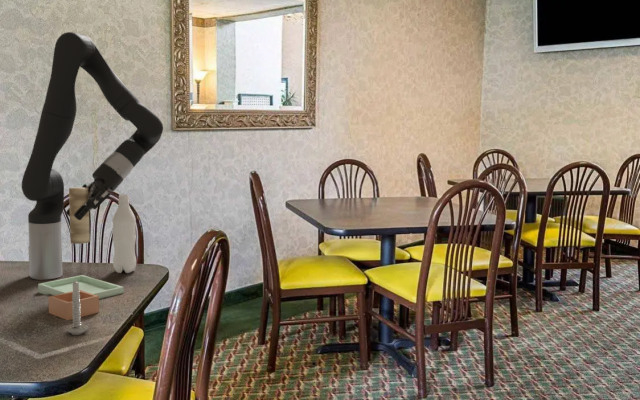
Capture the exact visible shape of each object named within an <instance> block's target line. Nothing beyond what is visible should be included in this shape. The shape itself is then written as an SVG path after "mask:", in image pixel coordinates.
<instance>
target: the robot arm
mask: <svg viewBox="0 0 640 400" xmlns="http://www.w3.org/2000/svg"><path fill="white" fill-rule="evenodd" d="M52 58H53V59H52V65H51V73H50V78H49V81H48V82H49V83H48V86H47V89H46V90H47V91H46V95H45V99H44V103H43V106H42V110H41V114H40V117H39V122H38V127H37V132H36V135H35V139H34V142H33V147H32V150H31V153H30V154H31V155H30V156H29V159H28V162H27V165H26V167H25V171H24V173H23V175H22V179H21V191H22V193H23V196H24V197H25V198H26V199H27V200H29V201H32V202H36V204H35V205H34V207H33V209H32V210H30V211H29V212H28V214H27V215H28V217H27V219H28V220H27V222H28V269H29V270H28V271H29V272H28V274H29V277H30V278H31V279H33V280H38V281H39V280H52V279H58V278H60V277H63V247H62V246H63V244H62V243H63V242H62V214H63V212H64V207H65V202H64V201H65V183H64V179H63V177H62V175H61V174H60V172H59V171H57V170H56V169H53V166H54V162H55V160H56V158H57V156H58V154H59V153H60V151H61V150H62V148H63V147H64V145H65V144H66V143H67V141H68V139H69V137H70V136H71V134H72V131H73V127H74V125H75V120H76V115H77V99H76V90H75V89H76V81H77V77H78V73H79V71H80V68H81V69H83V70H84V71H85V72H87V74H88V75H89V76H91V78H92V79H93V80H94V82H95V83H96V84H97V85H98V87H99V89H100V91H101V92H102V95H103V96H104V98H105V99H106V101H107V102H108V103H109V104H110V106H111V107H112V108H113V109H114V110H115V111H116V112H117V114H118V115H119V116H121V118H122V119H124V120H125V121H129V122H130V123H131V124H133V126H134V127H135V128H136V130H135V131H134V132H133V134H132V135H131V136H130V137H129V138H128V139H124V141H122V142H121V143H120V144H119V146H118V147H117V148H116V149H115V150H114V151H113V152H112V153H111V154H109V156H107V157H106V158H105V160H104V161H103V162H102V163H101V164H100V165H99V166H98V167H97V168H96V169H95V170H94V172H92V179H93V181H92V182H91V183H89V184H88V185H87V184H86V183H85V184H83V185H82V186H81V188H88V195H87V197H86V198H87V199H86V201H85V202H84V204H83V205H84V206H83V205H82V206H81V207H80V208H79V209H78V210H77V211H76V213H75V214H74V217H75V218H77V219H78V220H81V219H82V218H83V217H84V216H85V214H86V213H87V212H88V211H89V212H90V211H92V210H96V209H98V208H99V206H101V204H103V202H104V201H106V200H107V199H108V198H109V197H110V196H111V194H110V192H115V190H116V189H118V187H119V186H120V185H121V184H122V183H123V181H125V179H126V178H127V177H128V176H129V175H130V173H131V172H132V170H133V169H134V168H135V167H136V165H137V164H138V163H139V162H140V161H141V160H142V159H143V157H144V156H145V155H146V154H148V152H149V151H150V150H152V148H154V146H156V144H157V143H159V141H160V140H161V137H162V134H163V131H164V126H163V125H164V124H163V122H162V120H161V119H160V118H159V117H158V116H157V115H156V114H155V113H154V112H153V111H152V110H151V109H150V108H148V107H147V106H145V105H144V104H142V103H141V101H140V100H139V99H138V98H137V96H135V94H134V93H133V92H132V91H131V90H130V89H129V88H128V87H127V85H125V84H124V82H123V81H122V80H121V79H120V78H119V77H118V76H117V74H116V73H115V71H114V70H113V68H111V66H110V65H109V64H108V62H107V61H106V59H105V58H104V57H103V55H102V53H101V51H100V49H99V48H98V47H97V45H96V44H95V42H94V41H93V40H92V38H90V37H89V36H87V35H86V34H82V33H76V32H73V31H72V32H71V31H69V32H67V31H66V32H64V33H62V34H61V35H60V36H59V37H58V38H57V39H56V42H55V45H54V51H53V56H52ZM65 214H66V215H67V216H68V217H69V218H70V207H69V208H68V209H67V211H66V212H65Z"/></svg>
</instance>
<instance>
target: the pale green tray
mask: <svg viewBox="0 0 640 400" xmlns="http://www.w3.org/2000/svg"><path fill="white" fill-rule="evenodd" d="M75 281H77V282H78V283H79V290H82V291H85V292H88V293H91V294H94V295H97V296H99V300H100V299H104V298H110V297H113V296H117V295H118V296H119V295H122V294H124V293H125V291H124V289H125V287H124V286H122V285H118V284H116V283H111V282H108V281H105V280H101V279H97V278H94V277H91V276H87V275H84V274H81V275H76V276H70V277H65V278H61V279H56V280H50V281H46V282H42V283H38V284H37V289H38V290H37V291H38V293H39V294H41V295H45V296H48V295H50V296H53V295H58V294H63V293H67V292H72V291H73V282H75Z"/></svg>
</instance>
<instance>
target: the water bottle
mask: <svg viewBox="0 0 640 400" xmlns="http://www.w3.org/2000/svg"><path fill="white" fill-rule="evenodd" d="M117 203H118V207H117V208H116V210H115V212H114V215H113V216H112V221H111V222H112V242H113V248H114V249H113V250H114V251H113V257H112V258H113V259H112V266H113V268H114V270H115V272H116V273H117V274H122V272H123V271H124V272H125V274H131V273H132V272H133V271H135V270H136V267H137V257H136V252H135V251H136V246H135V245H136V241H137V235H136V216H135V214H134V212H133V210H132V209H131V206H130V197H129V194H125V193H124V194H123V193H122V194H119V195H118V201H117Z"/></svg>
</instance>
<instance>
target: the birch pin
mask: <svg viewBox="0 0 640 400" xmlns="http://www.w3.org/2000/svg"><path fill="white" fill-rule="evenodd" d="M87 195H88V188H82V187H70V188H68V200H69V201H68V203H69V205H68V206H69V208H70V217H69V233H70V235H69V236H70V240H69V241H70V244H74V245H77V244H78V245H80V244H88V243H90V237H91V236H90V210H89V211H88V212H87V213H86V214H85V216H84V217H83V218H82V219H81V220H78V219H77V218H75V217H74V214H75V213H76V211H77V210H78V209H79V208H80V207H81V206H82V205H83V204H84V202H85V201H86V199H87V198H86V197H87ZM83 206H84V205H83Z"/></svg>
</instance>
